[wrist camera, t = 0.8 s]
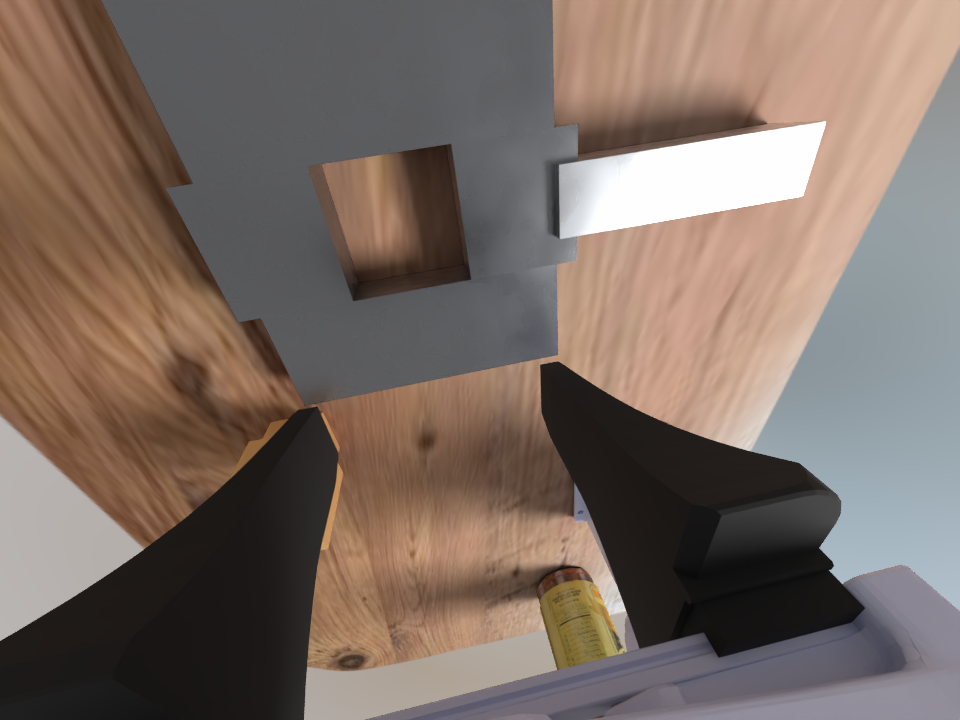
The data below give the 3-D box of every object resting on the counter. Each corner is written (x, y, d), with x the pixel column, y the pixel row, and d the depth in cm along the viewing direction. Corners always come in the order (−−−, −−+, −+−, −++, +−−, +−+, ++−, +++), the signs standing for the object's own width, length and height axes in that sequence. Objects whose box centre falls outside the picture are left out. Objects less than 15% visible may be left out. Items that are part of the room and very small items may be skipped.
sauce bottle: (584, 591, 41) (707, 907, 24) (531, 600, 40) (619, 935, 23) (596, 557, 37) (748, 897, 21) (537, 566, 36) (647, 931, 20)
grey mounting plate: (724, 298, 23) (763, 318, 21) (297, 383, 21) (282, 415, 19) (816, -66, 15) (900, -108, 12) (118, 19, 13) (47, -10, 10)
